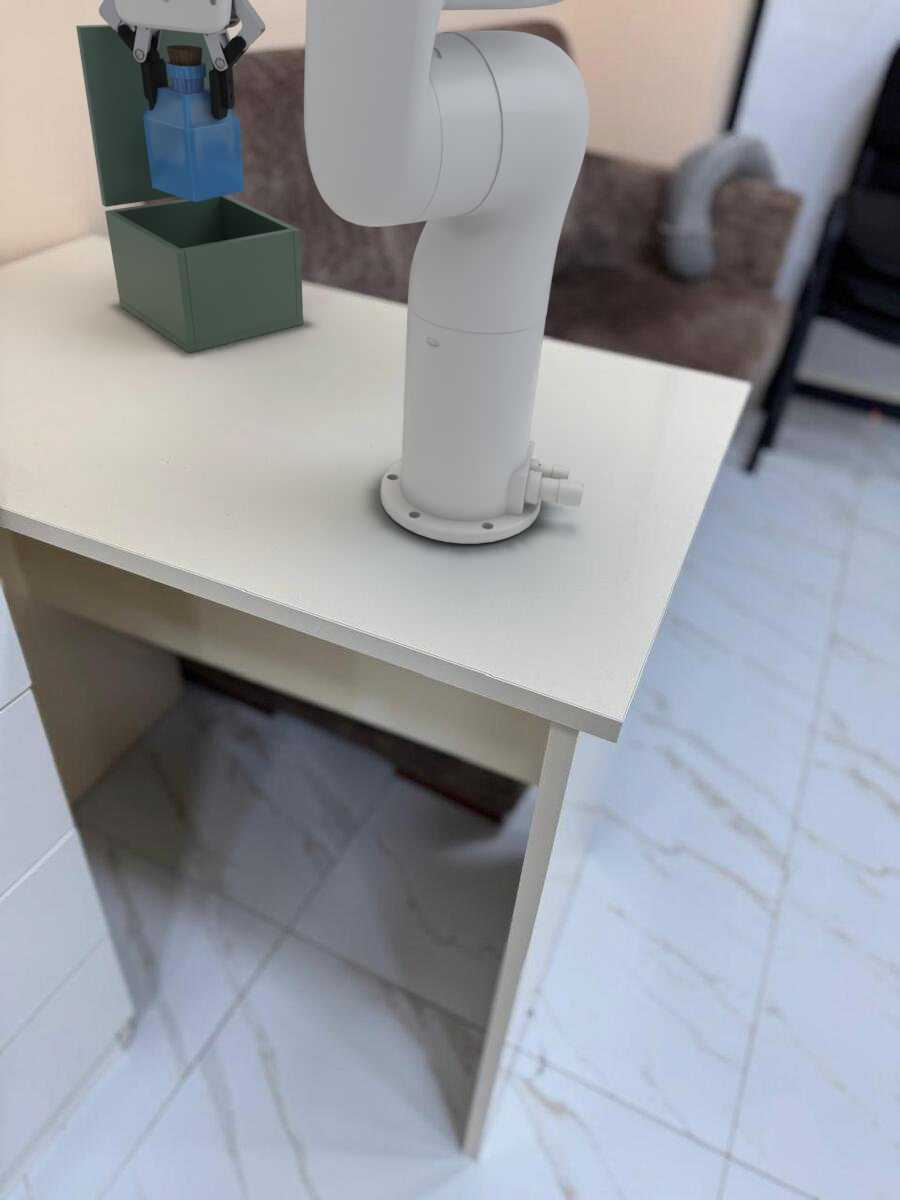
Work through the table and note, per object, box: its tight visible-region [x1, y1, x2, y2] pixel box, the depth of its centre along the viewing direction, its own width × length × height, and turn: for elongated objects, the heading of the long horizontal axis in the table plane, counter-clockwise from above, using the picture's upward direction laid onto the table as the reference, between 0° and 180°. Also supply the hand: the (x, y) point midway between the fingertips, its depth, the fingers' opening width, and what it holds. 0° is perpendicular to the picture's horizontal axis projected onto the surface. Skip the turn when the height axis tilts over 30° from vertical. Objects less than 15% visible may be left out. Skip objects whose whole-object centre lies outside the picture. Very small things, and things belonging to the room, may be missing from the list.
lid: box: [75, 24, 213, 208], centre depth 91 cm, size 16×14×5 cm
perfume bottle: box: [143, 45, 245, 202], centre depth 85 cm, size 6×6×12 cm
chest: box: [104, 194, 304, 354], centre depth 94 cm, size 15×14×10 cm
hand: (191, 111), depth 85 cm, fingers closed on perfume bottle, 5 cm apart
